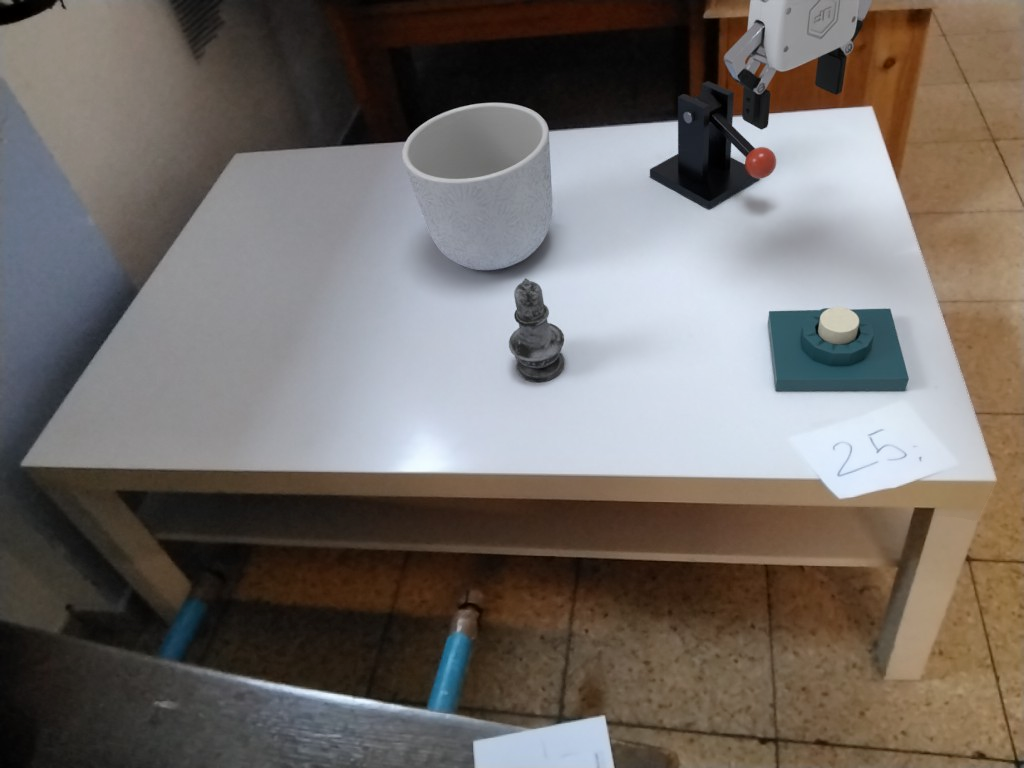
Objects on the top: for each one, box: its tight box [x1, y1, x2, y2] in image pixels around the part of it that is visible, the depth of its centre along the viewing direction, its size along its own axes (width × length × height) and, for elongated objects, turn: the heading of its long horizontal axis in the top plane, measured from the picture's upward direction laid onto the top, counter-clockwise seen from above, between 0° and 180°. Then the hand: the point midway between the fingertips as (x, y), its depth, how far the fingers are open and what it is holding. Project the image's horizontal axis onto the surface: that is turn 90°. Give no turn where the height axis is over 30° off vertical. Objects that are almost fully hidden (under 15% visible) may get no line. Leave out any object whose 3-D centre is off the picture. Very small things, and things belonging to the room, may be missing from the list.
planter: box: [401, 102, 553, 271], centre depth 99 cm, size 17×17×15 cm
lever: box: [693, 90, 777, 180], centre depth 100 cm, size 13×4×4 cm, turn 35°
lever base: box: [649, 80, 760, 210], centre depth 104 cm, size 11×9×12 cm
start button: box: [818, 306, 859, 345], centre depth 81 cm, size 4×4×2 cm
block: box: [767, 307, 910, 392], centre depth 83 cm, size 12×10×4 cm
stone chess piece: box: [508, 278, 566, 383], centre depth 85 cm, size 6×6×12 cm
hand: (791, 106), depth 85 cm, fingers open, 9 cm apart
